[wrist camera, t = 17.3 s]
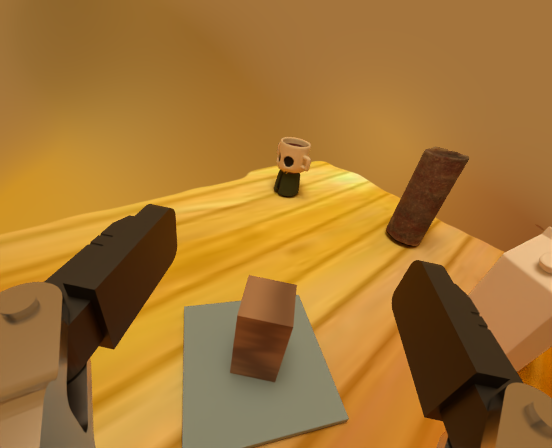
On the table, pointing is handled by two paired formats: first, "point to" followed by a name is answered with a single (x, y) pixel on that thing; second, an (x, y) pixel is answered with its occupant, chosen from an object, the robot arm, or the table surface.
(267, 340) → the walnut block
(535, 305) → the milk carton
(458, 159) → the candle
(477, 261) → the table surface
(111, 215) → the table surface
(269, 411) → the slate-blue mat
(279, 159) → the character mug
